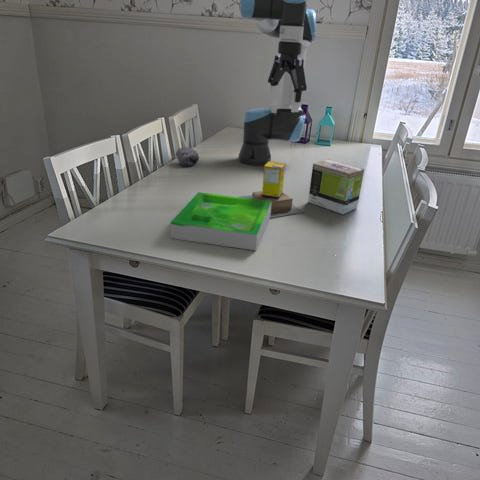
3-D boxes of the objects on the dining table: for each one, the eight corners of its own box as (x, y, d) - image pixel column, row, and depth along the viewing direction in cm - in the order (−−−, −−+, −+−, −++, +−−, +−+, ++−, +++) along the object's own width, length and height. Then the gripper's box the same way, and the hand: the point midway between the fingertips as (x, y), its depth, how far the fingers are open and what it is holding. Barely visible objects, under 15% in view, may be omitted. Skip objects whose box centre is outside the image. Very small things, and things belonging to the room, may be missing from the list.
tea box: (357, 208, 149) (365, 168, 142) (342, 215, 142) (349, 173, 136) (322, 196, 158) (328, 157, 151) (306, 202, 152) (312, 162, 145)
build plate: (235, 198, 151) (235, 186, 149) (272, 192, 158) (273, 181, 156) (263, 219, 136) (264, 207, 134) (303, 212, 143) (305, 200, 141)
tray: (270, 215, 138) (271, 201, 136) (255, 250, 116) (257, 234, 114) (198, 205, 143) (198, 192, 140) (171, 238, 121) (170, 222, 119)
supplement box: (282, 193, 145) (285, 163, 140) (278, 199, 140) (281, 168, 135) (265, 191, 147) (268, 160, 142) (261, 196, 142) (264, 165, 137)
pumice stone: (196, 173, 181) (200, 160, 189) (196, 157, 176) (200, 145, 183) (173, 170, 182) (178, 158, 189) (171, 155, 176) (177, 143, 184)
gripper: (261, 38, 144) (256, 102, 154) (303, 42, 125) (295, 115, 134) (279, 39, 147) (274, 101, 157) (323, 43, 128) (314, 114, 138)
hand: (283, 108), depth 146 cm, fingers open, 13 cm apart
